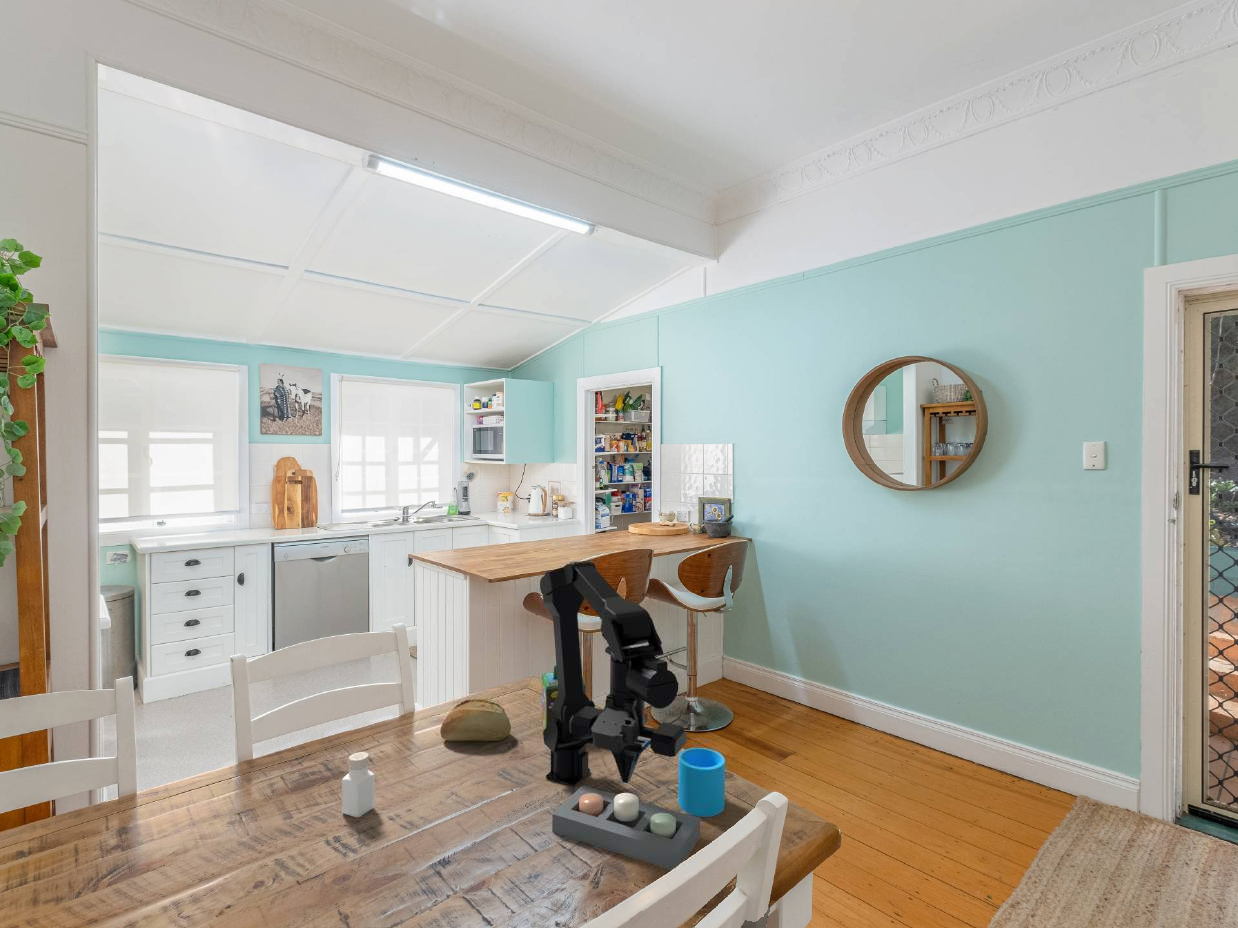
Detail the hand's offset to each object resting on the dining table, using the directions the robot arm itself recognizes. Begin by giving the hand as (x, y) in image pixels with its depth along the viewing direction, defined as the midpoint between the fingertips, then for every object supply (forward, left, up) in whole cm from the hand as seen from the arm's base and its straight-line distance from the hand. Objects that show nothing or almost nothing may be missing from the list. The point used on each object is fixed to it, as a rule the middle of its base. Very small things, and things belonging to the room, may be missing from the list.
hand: (626, 782), depth 102 cm
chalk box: (-30, +30, -9) cm, 43 cm away
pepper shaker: (-44, -15, -9) cm, 47 cm away
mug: (+7, +16, -9) cm, 20 cm away
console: (0, 0, -8) cm, 9 cm away
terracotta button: (-6, 0, -7) cm, 9 cm away
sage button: (+7, 0, -7) cm, 10 cm away
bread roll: (-44, +17, -9) cm, 48 cm away
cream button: (0, 0, -5) cm, 5 cm away
